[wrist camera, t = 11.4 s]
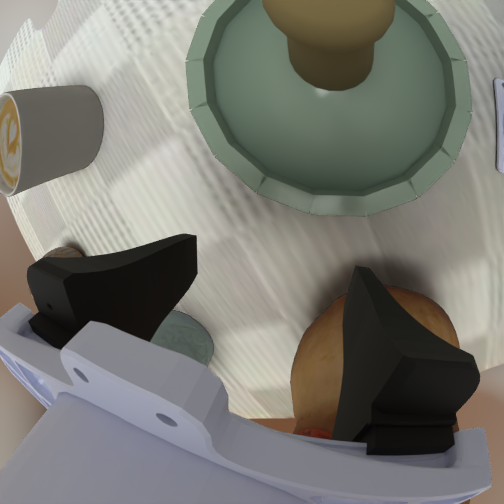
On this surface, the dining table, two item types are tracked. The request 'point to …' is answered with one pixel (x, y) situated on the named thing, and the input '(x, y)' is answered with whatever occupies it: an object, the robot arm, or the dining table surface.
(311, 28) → the olive brown knobbed peg
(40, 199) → the dining table surface
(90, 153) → the coffee mug
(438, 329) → the butternut squash
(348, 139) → the round tray
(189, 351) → the teal tapered cup
